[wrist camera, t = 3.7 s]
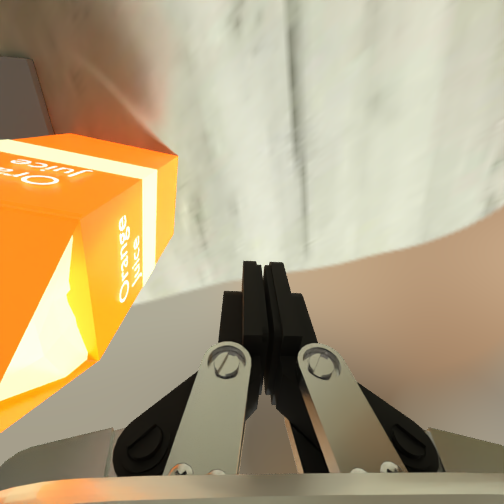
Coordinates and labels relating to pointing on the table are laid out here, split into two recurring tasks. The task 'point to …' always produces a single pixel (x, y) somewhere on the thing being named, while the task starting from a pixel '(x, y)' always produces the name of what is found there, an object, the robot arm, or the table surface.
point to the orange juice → (72, 254)
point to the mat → (21, 101)
